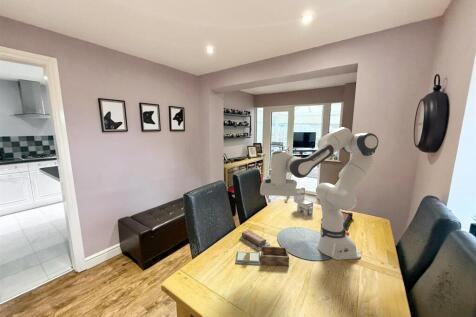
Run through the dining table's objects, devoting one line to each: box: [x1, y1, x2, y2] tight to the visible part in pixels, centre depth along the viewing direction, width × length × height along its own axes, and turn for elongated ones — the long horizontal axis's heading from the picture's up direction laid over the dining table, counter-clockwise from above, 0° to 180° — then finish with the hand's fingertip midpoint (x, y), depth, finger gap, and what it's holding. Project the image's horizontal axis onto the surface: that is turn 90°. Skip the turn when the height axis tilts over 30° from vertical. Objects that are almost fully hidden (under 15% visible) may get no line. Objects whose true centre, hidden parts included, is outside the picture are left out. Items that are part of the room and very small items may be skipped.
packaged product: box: [239, 229, 271, 252], centre depth 125 cm, size 18×5×10 cm
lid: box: [237, 246, 260, 262], centre depth 109 cm, size 12×7×5 cm, turn 85°
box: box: [260, 245, 290, 267], centre depth 107 cm, size 14×9×5 cm, turn 85°
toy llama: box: [293, 187, 314, 217], centre depth 168 cm, size 8×18×20 cm, turn 25°
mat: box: [235, 251, 261, 266], centre depth 109 cm, size 13×10×1 cm
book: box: [320, 210, 354, 231], centre depth 152 cm, size 26×18×5 cm
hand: (277, 202), depth 113 cm, fingers open, 8 cm apart
